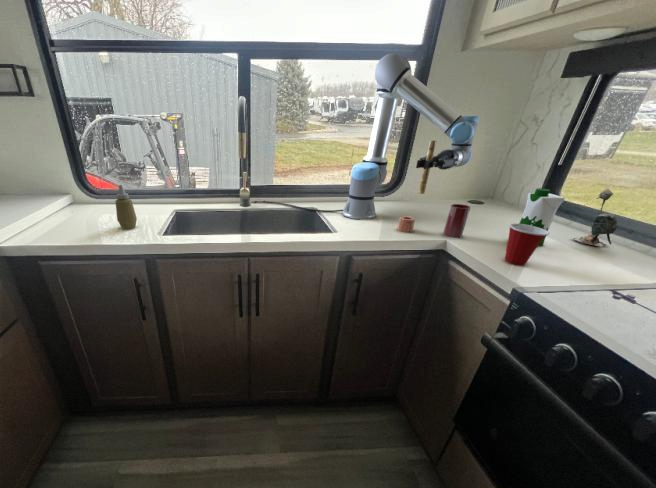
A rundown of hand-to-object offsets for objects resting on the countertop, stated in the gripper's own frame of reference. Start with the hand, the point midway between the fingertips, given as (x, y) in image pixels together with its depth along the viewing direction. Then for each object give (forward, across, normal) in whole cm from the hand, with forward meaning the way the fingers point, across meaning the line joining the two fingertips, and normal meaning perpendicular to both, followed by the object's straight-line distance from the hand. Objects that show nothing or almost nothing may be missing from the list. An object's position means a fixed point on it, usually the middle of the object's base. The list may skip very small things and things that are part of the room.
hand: (421, 164), depth 125 cm
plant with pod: (-42, -52, -28) cm, 73 cm away
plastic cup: (0, -39, -27) cm, 48 cm away
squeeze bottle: (+82, +86, -27) cm, 122 cm away
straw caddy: (-4, +3, -27) cm, 28 cm away
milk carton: (-26, -36, -27) cm, 52 cm away
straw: (-6, 0, -11) cm, 12 cm away
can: (-13, -13, -27) cm, 33 cm away
